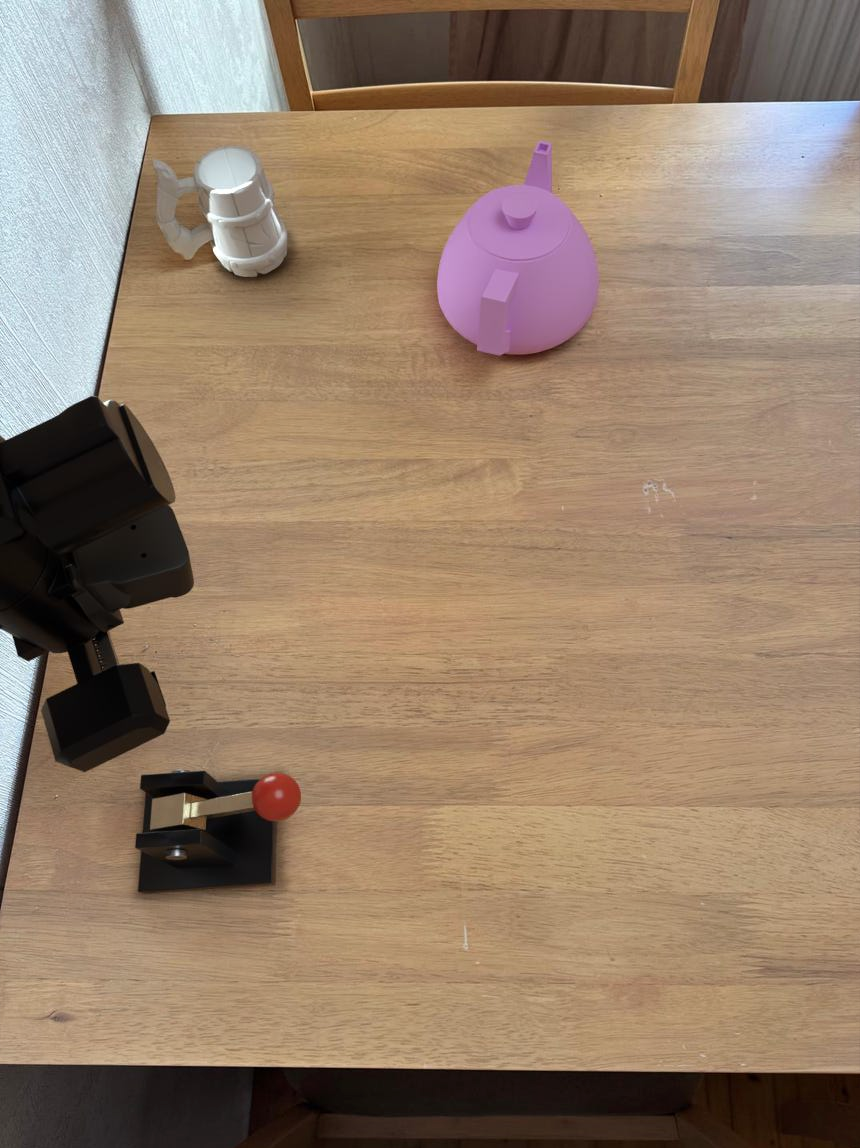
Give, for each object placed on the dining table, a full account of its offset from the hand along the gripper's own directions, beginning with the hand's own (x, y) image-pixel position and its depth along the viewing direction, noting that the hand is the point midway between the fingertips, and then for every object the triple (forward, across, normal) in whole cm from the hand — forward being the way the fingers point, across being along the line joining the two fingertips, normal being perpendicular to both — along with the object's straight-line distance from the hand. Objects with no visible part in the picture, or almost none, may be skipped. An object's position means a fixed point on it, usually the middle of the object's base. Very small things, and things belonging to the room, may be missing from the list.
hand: (140, 656), depth 63 cm
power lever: (+5, -12, -2) cm, 13 cm away
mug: (+15, +46, -17) cm, 51 cm away
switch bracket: (+12, -10, +4) cm, 16 cm away
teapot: (+18, +28, -40) cm, 52 cm away
